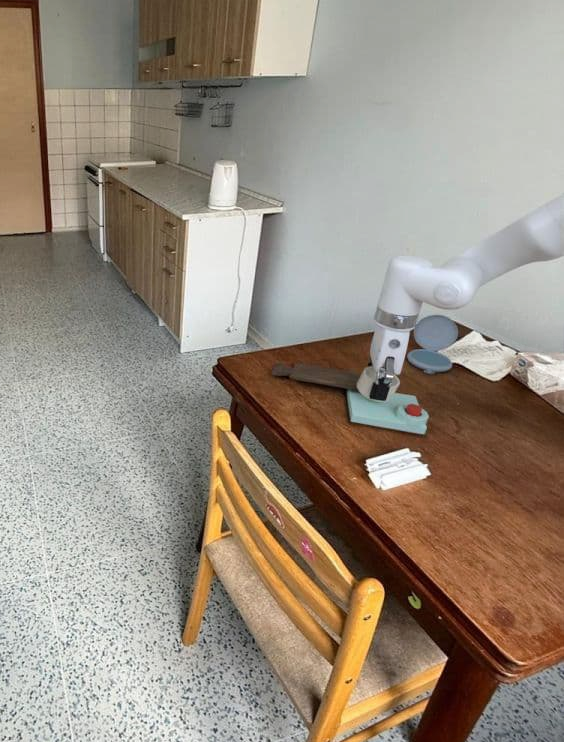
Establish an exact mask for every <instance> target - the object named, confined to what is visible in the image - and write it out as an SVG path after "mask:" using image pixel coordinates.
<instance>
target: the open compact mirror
mask: <svg viewBox="0 0 564 742" xmlns="http://www.w3.org/2000/svg"><path fill="white" fill-rule="evenodd" d="M458 335H459V329H458V326H457V323H456V322H455V321H454V320H452V319H451V318H450V317H448V316H446V315H442V314H430V315H427V316H425V317H423V318H420V320H419V321H418V322H416V325H415V328H414V329H413V338H414V341H415V342H416V344H417V345H419V346H420V347H421V349H420V348H418V349H413V350H411V351H410V352H408V353H407V355H406V358H407V360H408V362H409V363H410V364H411V365H412V366H414V367H416V368H418V369H420V370H423V372H424V373H426V374H429V375H430V374H431V375H434V374H436V373H442V372H447V371H449V370H451V369H452V368H453V362H452V360H451V359H450V358H449V357H448V356H446V355H445V354H443V353H442V352H441V353H440V352H439V351H443V350H447V349H448V348H450V347H452V346H453V344H455V342H456V341H457V339H458Z"/></svg>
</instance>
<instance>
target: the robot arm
mask: <svg viewBox="0 0 564 742" xmlns="http://www.w3.org/2000/svg"><path fill="white" fill-rule="evenodd" d="M561 257H564V192H563V193H561V194H559V195H558V196H556V197H555V198H553V199H550V201H548V202H546V203H544V204H543V205H541V206H539V207H538V208H535V209H534V210H532V211H531V212H528V213H527V214H525V215H523V216H522V217H520V218H518V219H516V220H515V221H513V222H511V223H509V224H508V225H506V226H505V227H503V228H501V229H500V230H498V231H496V232H493V233H491V235H489V236H487V237H485V238H483V239H481V240H480V241H478V242H477V243H475V244H473V245H471V246H469V247H468V248H466V249H464V250H463V251H461V252H459V253H458V254H456V255H454V256H453V257H451V258H449V259H447V260H446V261H445V262H443V263H442V265H440V266H439V267H434V265H433V263H432V262H431V260H429V259H427V258H425V257H421V256H418V255H417V256H416V255H410V254H409V255H408V254H404V255H403V254H402V255H396V256H394V257H392V258H391V259H390V260H389V262H388V265H387V268H386V271H385V275H384V279H383V283H382V286H381V290H380V294H379V297H378V302H377V304H376V305H377V306H376V308H375V313H374V316H373V322H374V324H376V327H375V329H374V332H373V333H374V334H373V337H372V340H371V343H370V348H369V355H370V357H369V362H367V366H366V367H369V366H373V368H374V370H375V371H376V380H375V382H373V385H372V388H371V392H370V395H369V398H370V399H374V400H380V401H386V399H387V396H388V392H389V389H390V386H391V383H392V379H393V374H394V375H396V376H399V375H401V373H402V369H403V366H404V362H405V359H406V354H407V350H408V345H409V340H410V333H411V331H414V328H415V326H416V324H417V323H418V322H417V321H418V318H419V315H420V313H421V310H422V306H423V304H424V303H425V304H428V305H430V306H433V307H435V308H437V309H442V310H446V311H447V310H448V311H453V310H459V309H462V308H464V307H465V306H467V305H468V304H469V303H470V302H472V300H473V298H475V296H476V294H477V292H478V290H479V288H480V287H482V286H484V285H486V284H488V283H490V282H491V281H493V280H495V279H497V278H499V277H501V276H503V275H506V274H507V273H509V272H511V271H513V270H516V269H518V268H520V267H523V266H525V265H528V264H532V263H537V262H538V263H539V262H549V261H553V260H557V259H560V258H561ZM380 368H384V369H385V370H380ZM380 373H383V374H385V375H384V377H381V378H380Z"/></svg>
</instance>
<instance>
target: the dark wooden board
mask: <svg viewBox="0 0 564 742" xmlns="http://www.w3.org/2000/svg"><path fill="white" fill-rule="evenodd" d="M361 374H362V372H361V371H353V370H348V369H341V368H334V367H328V366H322V365H316V364H311V363H304V362H294V365H293V367H292V366H289V365H287V364H283V363H278V364H277V365H275V366H274V367H273V368H272V370H271V371H270V375H271V376H276V377H282V376H283V377H289V378H288V379H291V380H295V381H299V382H300V381H301V382H306V383H311V384H318V385H324V386H330V387H334V388H335V387H336V388H341V389H345V390H347V389H351V390H358V388H357V382H358V380H359V378H360V376H361Z"/></svg>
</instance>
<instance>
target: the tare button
mask: <svg viewBox="0 0 564 742" xmlns="http://www.w3.org/2000/svg"><path fill="white" fill-rule="evenodd" d="M422 409H423V407H422V406H420V405H419V406H418V405H415V404H409V405H408V406H407V409H406V413H407V414H409V415H411V416H415V417H419V416H420V414H421V411H422Z"/></svg>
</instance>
